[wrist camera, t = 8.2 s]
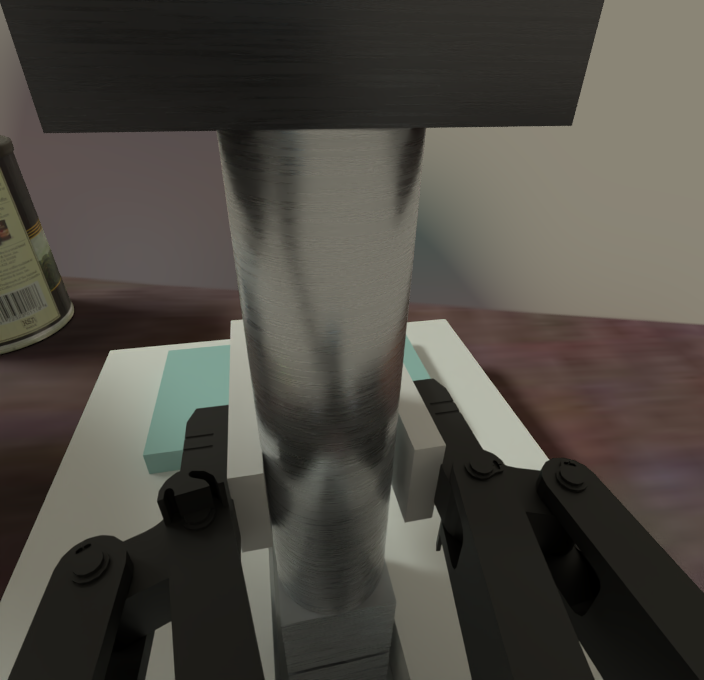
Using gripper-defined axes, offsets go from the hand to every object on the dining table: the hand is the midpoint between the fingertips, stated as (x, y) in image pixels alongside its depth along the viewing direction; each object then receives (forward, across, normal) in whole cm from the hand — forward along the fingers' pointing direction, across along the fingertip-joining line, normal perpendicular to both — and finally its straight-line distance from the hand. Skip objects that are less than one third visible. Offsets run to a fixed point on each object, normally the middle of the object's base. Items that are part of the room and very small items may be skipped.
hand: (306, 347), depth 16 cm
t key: (-6, 0, -10) cm, 11 cm away
